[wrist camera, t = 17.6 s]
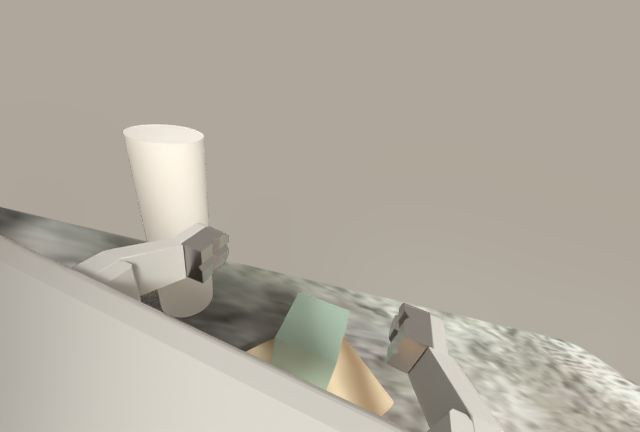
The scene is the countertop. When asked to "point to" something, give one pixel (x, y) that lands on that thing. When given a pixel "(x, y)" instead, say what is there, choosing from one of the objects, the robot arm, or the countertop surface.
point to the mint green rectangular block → (310, 339)
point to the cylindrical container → (171, 199)
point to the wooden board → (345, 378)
